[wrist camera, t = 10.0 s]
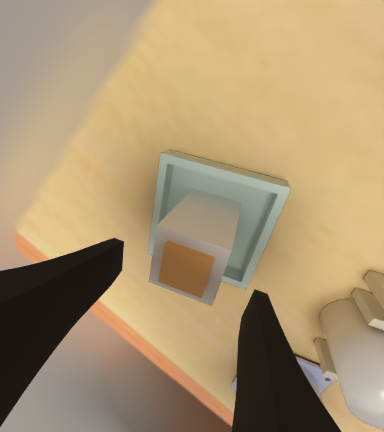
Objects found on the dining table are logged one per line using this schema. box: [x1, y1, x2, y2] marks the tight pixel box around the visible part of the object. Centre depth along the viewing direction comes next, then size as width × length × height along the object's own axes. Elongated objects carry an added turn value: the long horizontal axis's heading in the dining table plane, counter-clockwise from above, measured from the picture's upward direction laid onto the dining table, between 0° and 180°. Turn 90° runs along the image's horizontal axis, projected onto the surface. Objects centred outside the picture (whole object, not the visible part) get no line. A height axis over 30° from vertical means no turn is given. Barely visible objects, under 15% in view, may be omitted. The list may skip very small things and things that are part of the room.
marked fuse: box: [149, 189, 242, 306], centre depth 14 cm, size 4×4×7 cm
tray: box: [148, 150, 291, 290], centre depth 17 cm, size 9×9×2 cm
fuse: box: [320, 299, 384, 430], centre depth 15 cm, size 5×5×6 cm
